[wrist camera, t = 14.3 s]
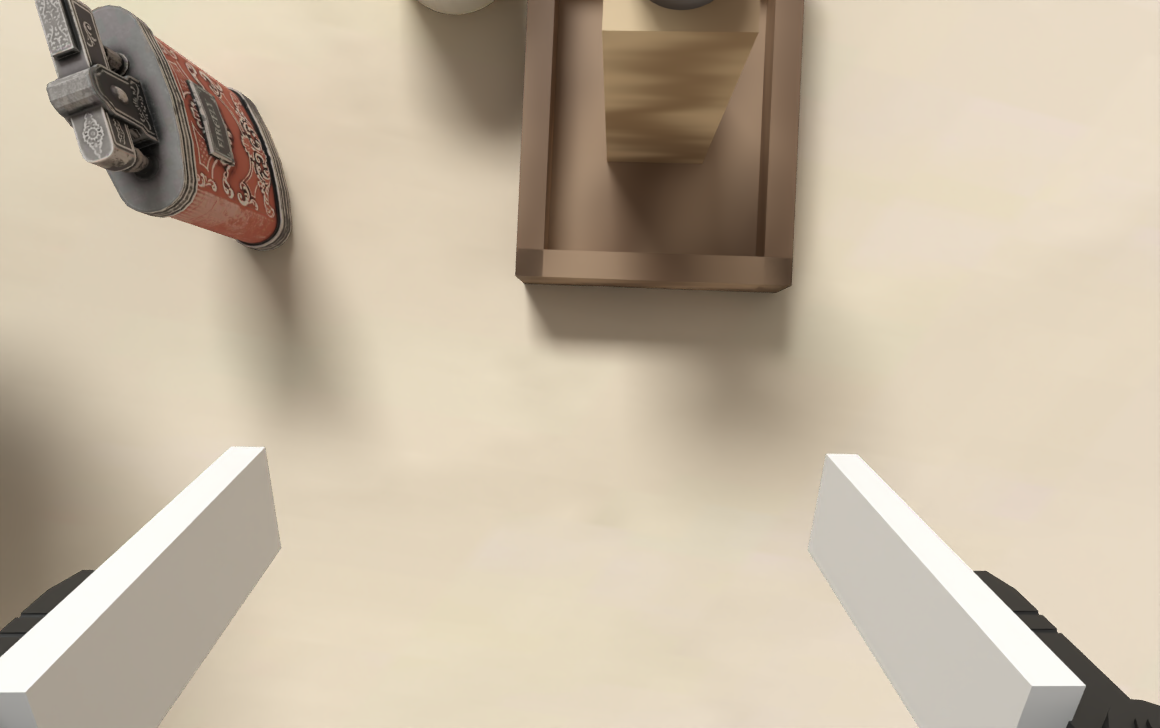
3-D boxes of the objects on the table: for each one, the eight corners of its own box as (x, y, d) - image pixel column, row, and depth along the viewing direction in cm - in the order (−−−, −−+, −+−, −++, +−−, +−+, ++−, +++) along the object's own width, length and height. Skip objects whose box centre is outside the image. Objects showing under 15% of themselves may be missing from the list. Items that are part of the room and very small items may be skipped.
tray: (523, 283, 29) (515, 275, 27) (538, -48, 29) (531, -86, 27) (775, 292, 28) (791, 285, 26) (791, -46, 28) (807, -86, 26)
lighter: (304, 238, 30) (148, 174, 20) (241, 260, 30) (55, 207, 20) (256, 85, 30) (78, -56, 20) (194, 107, 30) (-14, -21, 20)
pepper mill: (606, 161, 28) (599, -33, 14) (611, 67, 28) (607, -216, 14) (702, 163, 28) (786, -31, 14) (706, 68, 28) (794, -218, 14)
